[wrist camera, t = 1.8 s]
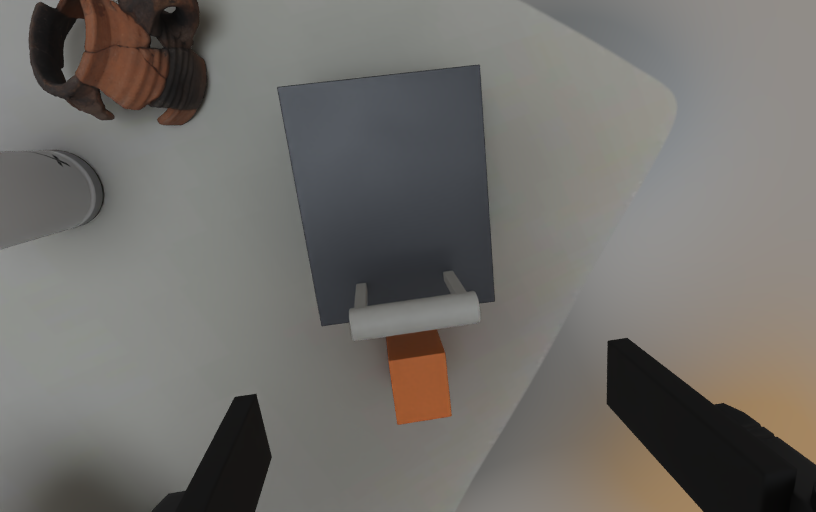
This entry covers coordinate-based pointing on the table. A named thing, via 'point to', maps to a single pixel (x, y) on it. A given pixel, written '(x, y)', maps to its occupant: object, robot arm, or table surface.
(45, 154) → the travel mug
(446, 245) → the hinged box lid
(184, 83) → the pottery mug
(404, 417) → the orange block
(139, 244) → the table surface
